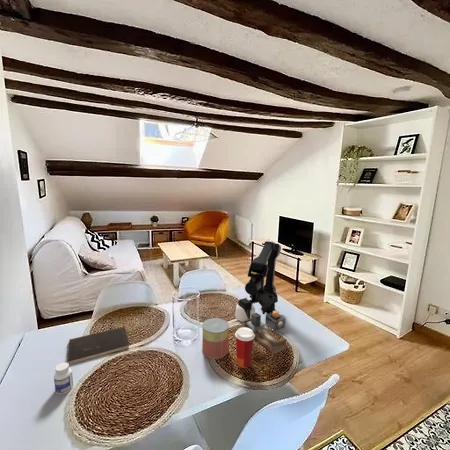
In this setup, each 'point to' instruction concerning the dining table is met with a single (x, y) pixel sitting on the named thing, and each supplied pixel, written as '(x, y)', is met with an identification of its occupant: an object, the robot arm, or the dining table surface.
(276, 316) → the button
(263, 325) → the carriage
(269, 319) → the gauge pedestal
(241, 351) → the paper cup
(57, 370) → the pill bottle
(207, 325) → the canned food
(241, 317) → the teardrop
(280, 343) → the rail
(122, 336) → the hardcover book
